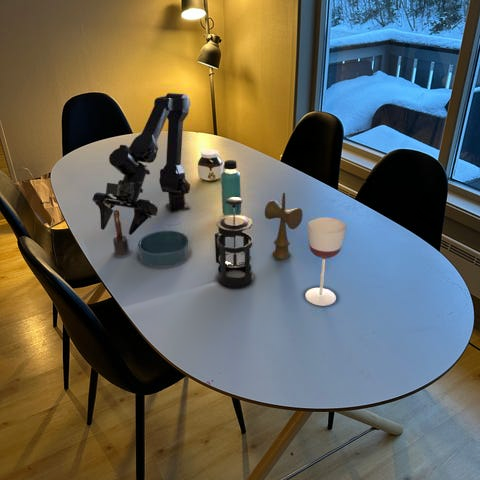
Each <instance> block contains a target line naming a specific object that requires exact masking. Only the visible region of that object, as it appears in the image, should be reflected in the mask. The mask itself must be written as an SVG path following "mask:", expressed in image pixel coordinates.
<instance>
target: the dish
mask: <svg viewBox="0 0 480 480" xmlns="http://www.w3.org/2000/svg"><path fill="white" fill-rule="evenodd" d="M137 250H138V251H137V252H138V257H139V260H140V261H141V262H142V263H143V264H145V265H147V266H151V267H170V266H174V265H178V264H179V263H181V262H183V261H184V260H186V259H187V258H188V256H189V255H190V239H189V237H188V236H187V235H185V234H184V233H182V232H180V231H176V230H158V231H154V232H151V233H148V234H146V235H143V236H142V237H141V238H140V239H139V240H138V242H137Z"/></svg>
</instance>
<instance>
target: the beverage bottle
mask: <svg viewBox="0 0 480 480" xmlns="http://www.w3.org/2000/svg"><path fill="white" fill-rule="evenodd" d="M237 166H238V165H237V161H236V160H235V159H226V160H225V161H224V168H225V169H228V170H225V171H224V172H223V173H222V174H221V179H220V180H221V210H222V215H223V216H227V215H234V212H233V207H232V205H230V204H227V203H226V202H225V201H226V200H227V199H228V198H233V197H236V198H240V199H242V193H241V192H242V191H241V190H242V189H241V173H240V171H238V170H237V168H238V167H237ZM241 213H242V203H241V204H238V205H236V208H235V215H241Z"/></svg>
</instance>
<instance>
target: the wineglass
mask: <svg viewBox="0 0 480 480" xmlns="http://www.w3.org/2000/svg"><path fill="white" fill-rule="evenodd" d="M346 232H347V224H346V223H345V222H344V221H343V220H340V219H337V218H334V217H317V218H313V219H311V220H309V221H308V223H307V240H308V246H309V247H308V248H309V250H310V252H311V253H312V254H313V255H314V256H316V257H317V258H320V259H321V270H320V283H319V287H312V288H310V289H308V290H307V291H306V293H305V299H306V300H307V301H308V302H309V303H310V304H313V305H316V306H323V307H324V306H325V307H326V306H330V305H332V304H334V303H335V302H336V299H337V296H336V294H335V293H334V292H333V291H332V290H331V289H329V288H324V282H325V281H324V280H325V269H326V260H327V259H330V258H334V257H336V256H337V255H338V254H339V253H340V252H341V251H342V248H343V245H344V241H345V237H346Z"/></svg>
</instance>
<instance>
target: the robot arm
mask: <svg viewBox="0 0 480 480" xmlns="http://www.w3.org/2000/svg"><path fill="white" fill-rule="evenodd" d="M190 107H191V99H190V97H188V95H187V94H186V93H173V92H168V93H166V95H163V96H159V97H156V98H155V99H154V102H153V108H152V110H151V111H150V114H149V116H148V119H147V121H146V123H145V126H144V127H143V129H142V132H141V133H140V134H139V135H137V136H136V137H135V138H134V139H133V140H132V142H131V143H130V146H128V145H126V144H119V147H118V148H115V149H113V151H112V152H110V154H109V157H108V162H109V164H110V165H111V166H112V167H113V168H115V170H117V171H118V172H119V173H120V174H122V175H123V177H122V179H119V180H118V181H117V183H113V182H107V183H106V188H105V193H104V192H95V193H94V194H93V196H92V199H91V201H92V202H94V203H95V205H96V206H97V207H98V209H99V214H100V215H99V217H100V229H101V230H102V231H104V230H105V229H106V227H107V225H108V223H109V221H110V219H111V217H112V215H113V212H114V211H115V210H114V209H113V208H115V206H116V207H121V208H129V209H133V218H132V221H131V223H130V226H129V230H128V235H129V236H133V234H134V233H135V232H136V231H137V230H138V228H140V226H142V225H143V224H144V223H145V222H146V221H147V220H148V219H152V218H153V217H157V215H158V211H159V208H158V205H157V204H155V203H154V202H153V201H151V200H150V199H144V198H143V199H142V198H139V197H140V194H143V192H144V189H143V188H142V187H143V184H144V182H145V178H146V175H148V176H150V175H151V172H150V169H149V166H148V165H147V164H151V163H154V162H155V160H156V158H157V155H158V151H159V145H158V141H159V140H158V139H159V138H160V135H161V133H162V131H163V128H164V126H165V124H166V121H167V137H166V138H167V139H166V140H167V141H166V158H165V159H166V161H165V164H164V166H163V168H160V169H159V180H158V182H159V186H160V189H161V191H162V193H167V194H168V195H167V197H168V203H166V204H165V206H166V207H167V209H168V210H169V211H170V212H171V213H174V212H179V211H183V210H189V209H190V208H189V205H188V204H187V203H186V195H187V194H189V193H190V190H191V184H190V182H189V181H188V180H187V179H186V173H185V170H184V167H183V166H182V151H183V150H182V148H183V131H184V130H183V129H184V121H185V120H186V119H187V117H188V115H189V112H190ZM143 163H146V165H145V164H143ZM113 197H114V198H113Z"/></svg>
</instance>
